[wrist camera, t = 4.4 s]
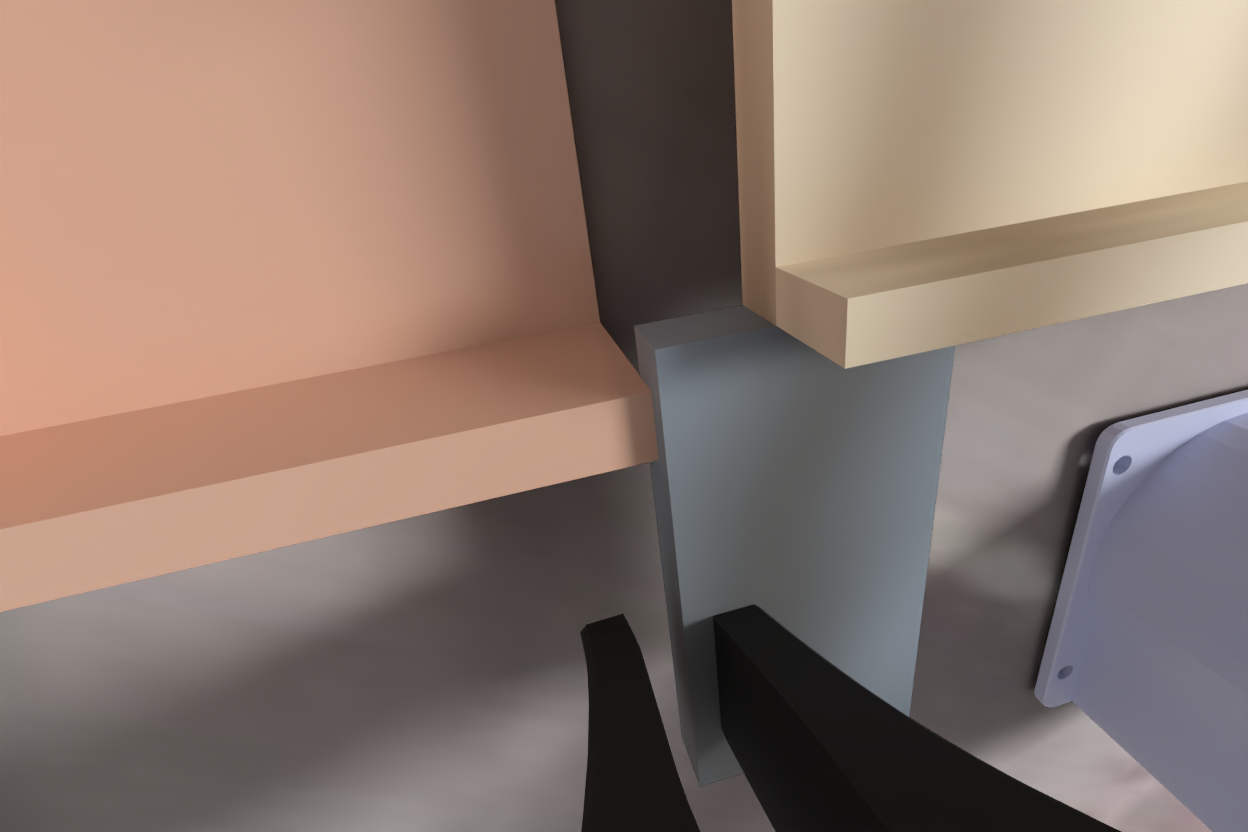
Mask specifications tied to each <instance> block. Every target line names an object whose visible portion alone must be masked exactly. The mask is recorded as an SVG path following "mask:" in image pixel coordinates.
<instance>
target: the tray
mask: <svg viewBox="0 0 1248 832" xmlns="http://www.w3.org/2000/svg"><path fill="white" fill-rule="evenodd" d="M657 460H659V456H658V447H657V438H656V429H655V419H654V410H653V401H652V392H651V390H650V389H649V388H648V386H647V385H646V383H645V382H644V381H643V379H642V378H641V377H640V375H639V374H638V372H637V371H636V370H635V368H634V367H633V366H632V364H631V363H630V362H629V360H628V359H627V358H626V356H625V355H624V354H623V352H622V351H621V350H620V348H619V347H618V346H617V344H616V343H615V342H614V340H613V339H612V338H611V336H610V335H609V334H608V332H607V331H606V329H605V328H604V327H603V325H602V324H601V323H600V317H599V310H598V303H597V296H596V289H595V282H594V275H593V268H592V261H591V254H590V247H589V240H588V232H587V225H586V218H585V211H584V204H583V197H582V190H581V183H580V176H579V169H578V162H577V155H576V148H575V141H574V134H573V126H572V119H571V112H570V105H569V98H568V91H567V84H566V77H565V70H564V63H563V56H562V49H561V42H560V35H559V28H558V20H557V13H556V6H555V0H0V612H2V611H7V610H11V609H15V608H20V607H24V606H28V605H33V604H37V603H41V602H46V601H50V600H54V599H59V598H63V597H67V596H72V595H76V594H80V593H85V592H89V591H93V590H98V589H102V588H106V587H111V586H115V585H119V584H124V583H128V582H132V581H137V580H141V579H145V578H150V577H154V576H158V575H163V574H167V573H171V572H176V571H180V570H184V569H189V568H193V567H197V566H202V565H206V564H210V563H215V562H219V561H224V560H228V559H232V558H237V557H241V556H245V555H250V554H254V553H258V552H263V551H267V550H271V549H276V548H280V547H284V546H289V545H293V544H297V543H302V542H306V541H310V540H315V539H319V538H323V537H328V536H332V535H336V534H341V533H345V532H349V531H354V530H358V529H362V528H367V527H371V526H375V525H380V524H384V523H388V522H393V521H397V520H401V519H406V518H410V517H414V516H419V515H423V514H427V513H432V512H436V511H440V510H445V509H449V508H453V507H458V506H462V505H466V504H471V503H475V502H479V501H484V500H488V499H492V498H497V497H501V496H505V495H510V494H514V493H519V492H523V491H527V490H532V489H536V488H540V487H545V486H549V485H553V484H558V483H562V482H566V481H571V480H575V479H579V478H584V477H588V476H592V475H597V474H601V473H605V472H610V471H614V470H618V469H623V468H627V467H631V466H636V465H640V464H644V463H649V462H653V461H657Z"/></svg>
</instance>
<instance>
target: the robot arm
mask: <svg viewBox="0 0 1248 832" xmlns="http://www.w3.org/2000/svg"><path fill="white" fill-rule="evenodd" d="M713 623H714V636H715V650H716V663H717V677H718V690H719V704H720V717H721V728H722V731H723V733H724V735H725V738H726V740H727V742H728V744H729V746H730V748H731V750H732V752H733V754H734V755H735V757H736V759H737V761H738V763H739V765H740V767H741V768H742V770H743V772H744V774H745V776H746V778H747V780H748V781H749V783H750V785H751V787H752V789H753V791H754V793H755V794H756V796H757V798H758V800H759V802H760V804H761V805H762V807H763V809H764V811H765V813H766V815H767V816H768V818H769V820H770V822H771V824H772V826H773V827H774V829H775V831H776V832H1121V831H1119V830H1117V829H1114V828H1112V827H1110V826H1108V825H1106V824H1104V823H1102V822H1100V821H1098V820H1096V819H1094V818H1092V817H1090V816H1088V815H1086V814H1084V813H1082V812H1080V811H1078V810H1076V809H1074V808H1072V807H1070V806H1068V805H1066V804H1064V803H1062V802H1060V801H1058V800H1056V799H1054V798H1052V797H1050V796H1048V795H1046V794H1044V793H1042V792H1040V791H1038V790H1036V789H1034V788H1032V787H1030V786H1028V785H1026V784H1024V783H1022V782H1020V781H1018V780H1016V779H1014V778H1013V777H1011V776H1009V775H1007V774H1005V773H1004V772H1002V771H1000V770H998V769H996V768H994V767H993V766H991V765H989V764H987V763H985V762H984V761H982V760H980V759H978V758H976V757H975V756H973V755H971V754H969V753H968V752H966V751H964V750H963V749H961V748H959V747H957V746H956V745H954V744H952V743H951V742H949V741H947V740H946V739H944V738H942V737H940V736H939V735H937V734H936V733H934V732H932V731H931V730H929V729H927V728H926V727H924V726H923V725H921V724H919V723H918V722H916V721H915V720H913V719H912V718H910V717H908V716H907V715H905V714H904V713H902V712H901V711H899V710H898V709H896V708H895V707H893V706H892V705H890V704H889V703H887V702H886V701H884V700H883V699H881V698H880V697H878V696H877V695H875V694H874V693H872V692H871V691H869V690H868V689H867V688H865V687H864V686H862V685H861V684H859V683H858V682H857V681H855V680H854V679H852V678H851V677H850V676H848V675H847V674H845V673H844V672H843V671H841V670H840V669H839V668H837V667H836V666H835V665H833V664H832V663H831V662H829V661H828V660H826V659H825V658H824V657H822V656H821V655H820V654H818V653H817V652H816V651H814V650H813V649H812V648H810V647H809V646H808V645H806V644H805V643H804V642H803V641H801V640H800V639H799V638H797V637H796V636H795V635H794V634H792V633H791V632H790V631H789V630H787V629H786V628H785V627H784V626H782V625H781V624H780V623H779V622H777V621H776V620H775V619H774V618H773V617H771V616H770V615H769V614H768V613H766V612H765V611H764V610H763V609H762V608H760V607H758V606H757V605H755V604H753V605H750V606H746V607H742V608H739V609H735V610H732V611H728V612H725V613H721V614H718V615H714V616H713ZM580 633H581V638H582V643H583V648H584V653H585V657H586V662H587V672H588V691H589V731H588V762H587V775H586V787H585V799H584V811H583V822H582V831H581V832H700V830H699V828H698V825H697V823H696V820H695V818H694V816H693V813H692V811H691V809H690V806H689V804H688V801H687V799H686V796H685V793H684V790H683V787H682V784H681V781H680V779H679V776H678V773H677V770H676V767H675V763H674V760H673V757H672V753H671V750H670V746H669V743H668V740H667V736H666V733H665V730H664V726H663V723H662V719H661V716H660V713H659V709H658V706H657V703H656V699H655V696H654V693H653V689H652V686H651V682H650V679H649V676H648V672H647V669H646V666H645V662H644V659H643V656H642V653H641V649H640V647H639V645H638V643H637V641H636V638H635V636H634V634H633V632H632V630H631V628H630V626H629V624H628V622H627V620H626V618H625V617H624V615H623V614H621V615H617V616H614V617H611V618H607V619H604V620H601V621H597V622H594V623H590V624H587V625H586V626H585V627H584V628H583V630H582V631H581V632H580ZM1035 697H1036V698H1037V699H1038V700H1039V701H1040V702H1041V703H1042V704H1043V705H1044V706H1045V707H1050V708H1052V707H1057V706H1060V705H1063V704H1066V703H1069V702H1072V701H1073V702H1074V703H1075V704H1076V705H1077V706H1078V707H1079V708H1080V709H1081V710H1082V711H1083V712H1084V713H1085V714H1086V715H1088V716H1089V717H1090V718H1091V719H1092V720H1093V721H1094V722H1095V723H1096V724H1097V725H1098V726H1099V727H1100V728H1102V729H1103V730H1104V731H1105V732H1106V733H1107V734H1108V735H1109V736H1110V737H1111V738H1112V739H1113V740H1114V741H1116V742H1117V743H1118V744H1119V745H1120V746H1121V747H1122V748H1123V749H1124V750H1125V751H1126V752H1127V753H1128V754H1130V755H1131V756H1132V757H1133V758H1134V759H1135V760H1136V761H1137V762H1138V763H1139V764H1140V765H1141V766H1142V767H1144V768H1145V769H1146V770H1147V771H1148V772H1149V773H1150V774H1151V775H1152V776H1153V777H1154V778H1155V779H1156V780H1158V781H1159V782H1160V783H1161V784H1162V785H1163V786H1164V787H1165V788H1166V789H1167V790H1168V791H1169V792H1170V793H1172V794H1173V795H1174V796H1175V797H1176V798H1177V799H1178V800H1179V801H1180V802H1181V803H1182V804H1183V805H1184V806H1186V807H1187V808H1188V809H1189V810H1190V811H1191V812H1192V813H1193V814H1194V815H1195V816H1196V817H1197V818H1199V819H1200V820H1201V821H1202V822H1203V823H1204V824H1205V825H1206V826H1207V827H1208V828H1209V829H1210V830H1211V831H1213V832H1248V390H1244V391H1240V392H1236V393H1232V394H1228V395H1224V396H1220V397H1216V398H1212V399H1208V400H1204V401H1200V402H1196V403H1192V404H1188V405H1184V406H1180V407H1176V408H1172V409H1168V410H1164V411H1161V412H1157V413H1153V414H1149V415H1145V416H1141V417H1137V418H1133V419H1129V420H1125V421H1121V422H1117V423H1115V424H1113V425H1110V426H1109V427H1107V428H1106V429H1105V430H1104V431H1103V432H1102V433H1101V434H1100V436H1099V437H1098V439H1097V442H1096V444H1095V448H1094V453H1093V457H1092V461H1091V465H1090V469H1089V473H1088V477H1087V481H1086V485H1085V489H1084V493H1083V497H1082V501H1081V505H1080V509H1079V513H1078V517H1077V521H1076V525H1075V529H1074V533H1073V537H1072V541H1071V545H1070V549H1069V553H1068V557H1067V561H1066V565H1065V570H1064V574H1063V578H1062V582H1061V586H1060V590H1059V594H1058V598H1057V602H1056V606H1055V610H1054V614H1053V618H1052V622H1051V626H1050V630H1049V634H1048V638H1047V642H1046V646H1045V650H1044V654H1043V658H1042V662H1041V666H1040V670H1039V674H1038V678H1037V682H1036V687H1035Z"/></svg>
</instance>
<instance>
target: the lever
mask: <svg viewBox="0 0 1248 832" xmlns="http://www.w3.org/2000/svg"><path fill="white" fill-rule="evenodd" d="M732 18H733V46H734V75H735V103H736V131H737V159H738V187H739V215H740V244H741V272H742V300H743V305H740V306H734V307H729V308H724V309H718V310H713V311H708V312H703V313H697V314H692V315H687V316H682V317H676V318H671V319H666V320H660V321H655V322H650V323H645V324H639V325H634V331H635V340H636V348H637V357H638V365H639V374H640V377H641V378H642V379H643V381H644V382H645V383H646V385H647V386H648V388H649V389H650V390H651V392H652V401H653V410H654V419H655V429H656V438H657V447H658V456H659V460H657V461H653V462H650V468H651V477H652V485H653V494H654V502H655V511H656V519H657V528H658V536H659V545H660V554H661V562H662V571H663V579H664V588H665V596H666V605H667V613H668V622H669V631H670V639H671V648H672V656H673V665H674V673H675V682H676V690H677V699H678V708H679V716H680V725H681V733H682V738H683V741H684V744H685V746H686V749H687V752H688V755H689V758H690V760H691V763H692V766H693V769H694V771H695V774H696V777H697V780H698V783H699V785H700V787H701V786H704V785H707V784H710V783H714V782H717V781H720V780H723V779H726V778H729V777H733V776H736V775H739V774H742V773H744V772H743V770H742V768H741V767H740V765H739V763H738V761H737V759H736V757H735V755H734V754H733V752H732V750H731V748H730V746H729V744H728V742H727V740H726V738H725V735H724V733H723V731H722V728H721V717H720V704H719V690H718V677H717V663H716V650H715V636H714V623H713V616H714V615H718V614H721V613H725V612H728V611H732V610H735V609H739V608H742V607H746V606H750V605H753V604H755V605H757V606H758V607H760V608H762V609H763V610H764V611H765V612H766V613H768V614H769V615H770V616H771V617H773V618H774V619H775V620H776V621H777V622H779V623H780V624H781V625H782V626H784V627H785V628H786V629H787V630H789V631H790V632H791V633H792V634H794V635H795V636H796V637H797V638H799V639H800V640H801V641H803V642H804V643H805V644H806V645H808V646H809V647H810V648H812V649H813V650H814V651H816V652H817V653H818V654H820V655H821V656H822V657H824V658H825V659H826V660H828V661H829V662H831V663H832V664H833V665H835V666H836V667H837V668H839V669H840V670H841V671H843V672H844V673H845V674H847V675H848V676H850V677H851V678H852V679H854V680H855V681H857V682H858V683H859V684H861V685H862V686H864V687H865V688H867V689H868V690H869V691H871V692H872V693H874V694H875V695H877V696H878V697H880V698H881V699H883V700H884V701H886V702H887V703H889V704H890V705H892V706H893V707H895V708H896V709H898V710H899V711H901V712H902V713H904V714H905V715H907V716H908V717H909V715H910V707H911V698H912V690H913V682H914V674H915V666H916V658H917V650H918V642H919V634H920V626H921V618H922V609H923V601H924V593H925V585H926V577H927V569H928V561H929V553H930V545H931V537H932V529H933V520H934V512H935V504H936V496H937V488H938V480H939V472H940V464H941V456H942V448H943V440H944V431H945V423H946V415H947V407H948V399H949V391H950V383H951V375H952V367H953V359H954V350H955V345H959V344H964V343H969V342H973V341H978V340H983V339H988V338H992V337H997V336H1002V335H1006V334H1011V333H1016V332H1020V331H1025V330H1030V329H1035V328H1039V327H1044V326H1049V325H1053V324H1058V323H1063V322H1067V321H1072V320H1077V319H1082V318H1086V317H1091V316H1096V315H1100V314H1105V313H1110V312H1115V311H1119V310H1124V309H1129V308H1133V307H1138V306H1143V305H1147V304H1152V303H1157V302H1162V301H1166V300H1171V299H1176V298H1180V297H1185V296H1190V295H1194V294H1199V293H1204V292H1209V291H1213V290H1218V289H1223V288H1227V287H1232V286H1237V285H1242V284H1246V283H1248V0H732Z"/></svg>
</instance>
